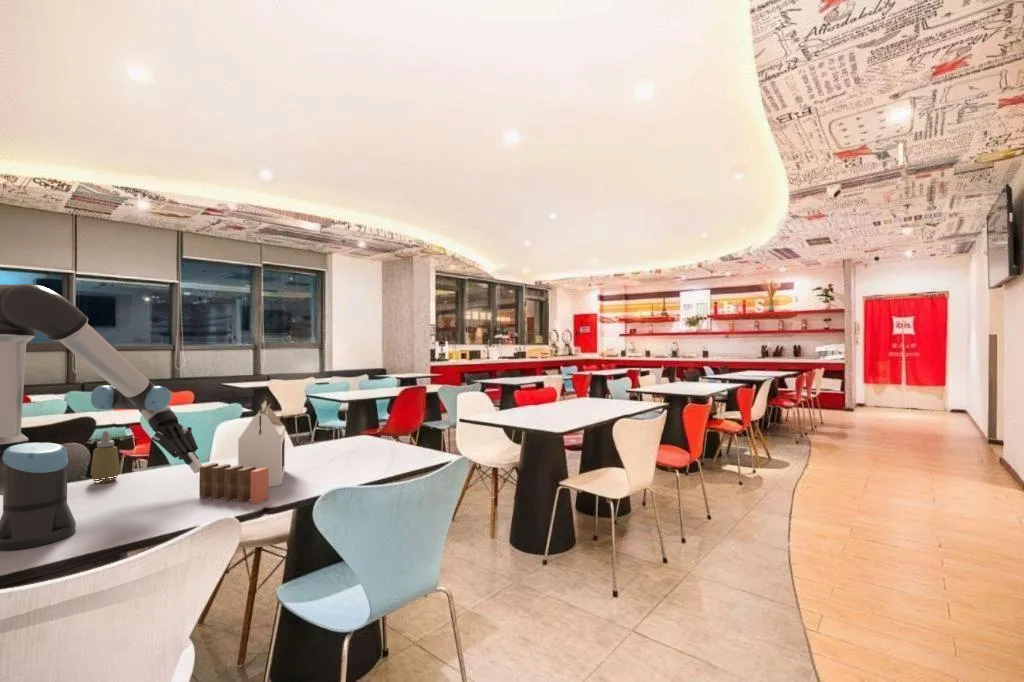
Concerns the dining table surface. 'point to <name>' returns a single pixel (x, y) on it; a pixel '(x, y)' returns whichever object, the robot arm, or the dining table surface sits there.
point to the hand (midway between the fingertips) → (198, 469)
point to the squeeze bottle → (105, 460)
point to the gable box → (264, 444)
